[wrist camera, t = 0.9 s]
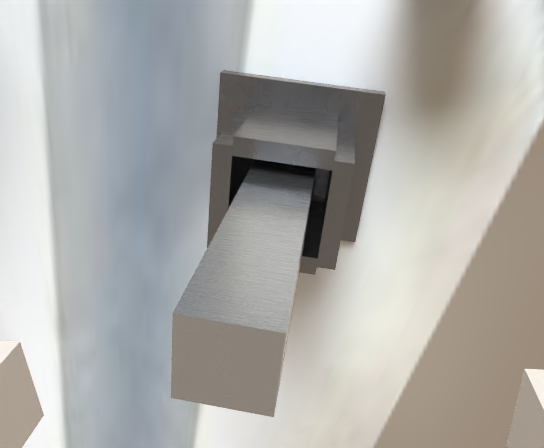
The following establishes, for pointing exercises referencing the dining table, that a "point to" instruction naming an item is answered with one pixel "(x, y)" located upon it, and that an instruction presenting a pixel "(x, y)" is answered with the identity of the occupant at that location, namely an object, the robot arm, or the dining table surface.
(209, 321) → the column
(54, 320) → the dining table surface
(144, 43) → the dining table surface
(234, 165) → the stand
